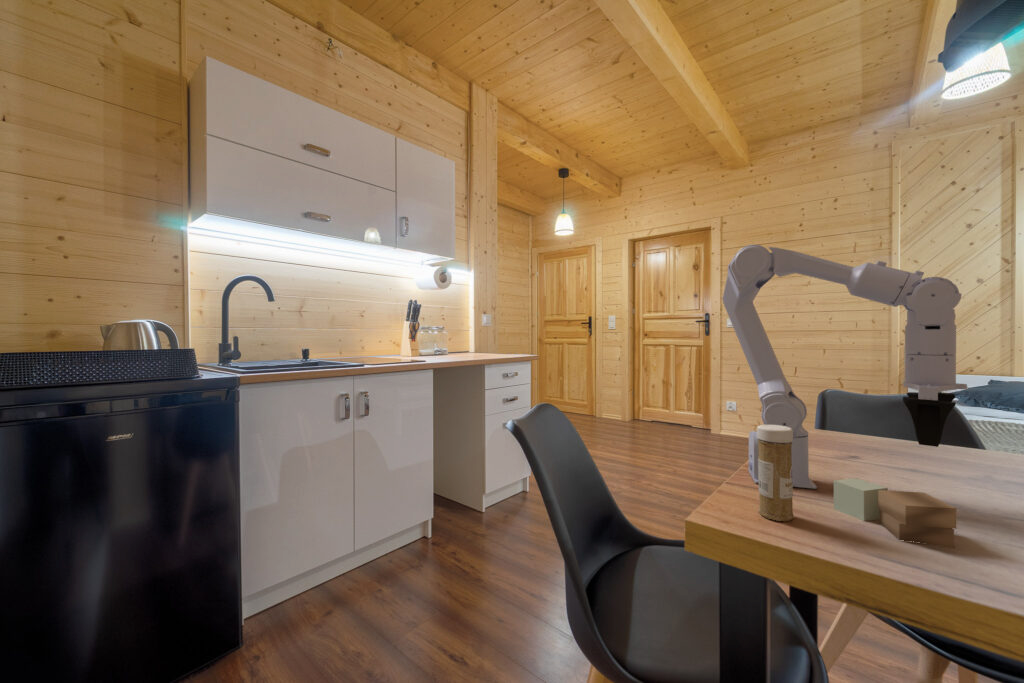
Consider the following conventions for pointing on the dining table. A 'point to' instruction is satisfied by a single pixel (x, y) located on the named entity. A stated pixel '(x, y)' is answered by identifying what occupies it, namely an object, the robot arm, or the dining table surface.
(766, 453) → the sprinkles bottle
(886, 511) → the tower top
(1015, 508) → the dining table surface
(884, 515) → the tower bottom
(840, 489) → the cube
